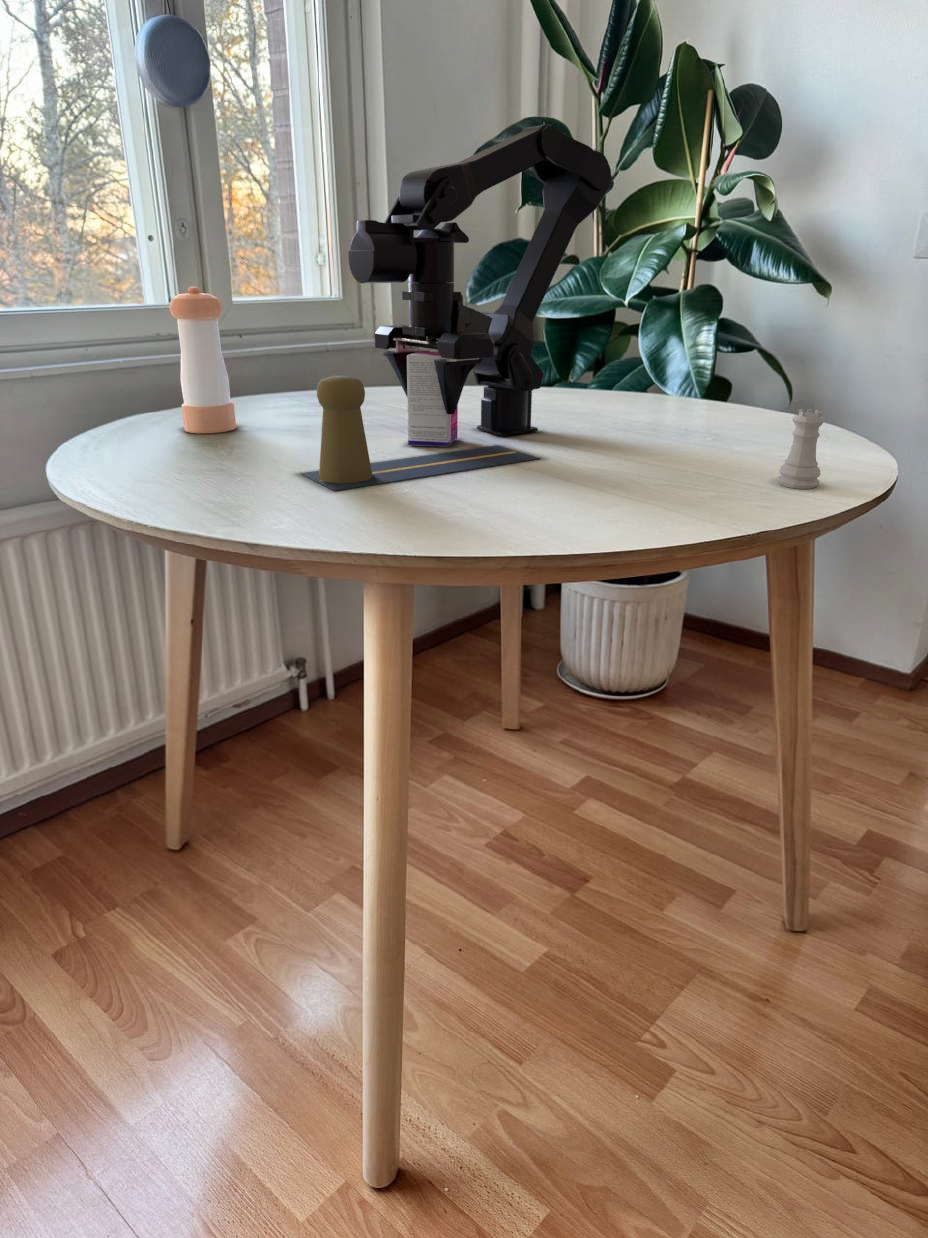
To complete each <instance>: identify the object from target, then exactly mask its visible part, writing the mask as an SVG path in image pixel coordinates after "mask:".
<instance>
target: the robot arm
mask: <svg viewBox="0 0 928 1238" xmlns="http://www.w3.org/2000/svg"><path fill="white" fill-rule="evenodd" d="M528 169H531V171H532V173H533V174H534V176H535V178H536V179H537V180H538V181H540V182H541V183H542V184H544V185H543V188H542V199H543V200H542V203H543V212H542V214H541V217H540V219H539V221H538V223H537V226H536V227H535V229H534V232H533V234H532V237H531V239H530V241H529V243H528V245H527V247H526V249H525V252H524V254H523V256H522V258H521V260H520V262H519V265H518V267H517V270H516V272H515V274H514V276H513V278H512V280H511V283H510V285H509V287H508V289H507V291H506V293H505V295H504V298H503V300H502V301H501V304H500V306H499V307H498V308H497V309H496V310H495V311H494V312H482V311H479V310H477V309H475V308H471V307H468V306H466V305H464V296H463V294H462V291H456V290H455V244H467V243H469V242H470V238H469V236H468V235H467V234H466V233H465V232H464V231H463V230H462V229H461V228H460V227H459V224H458V223H457V222H456V221H453V220H455V219H456V218H457V217H459V216H460V215H461V214H462V213H464V212H465V211H467V210H468V209H469V208H470V207H471V206H472V205H473V203H474V201H475V200H476V198H477V197H478V196H480V195H481V194H482V193H483V192H485V191H486V190H488V189H491V188H493V187H495V186H497V185H499V184H501V183H503V182H505V181H507V180H508V179H511V178H513V177H514V176H517V175H518V174H520V173H522V172H524V171H527V170H528ZM612 178H613V176H612V170H611V166H610V163H609V160H608V159H607V158H606V156H605V154H604V153H603V152H601V151H597V150H594V149H593V148H592V147H591V146H589V145H588V144H585V143H583V142H581V141H578V140H576V139H575V138H572V137H570V136H567V135H565V133H563V132H562V131H561V130H559V129H558V128H557V127H555V126H553V125H551V124H548V123H547V124H541V125H535V126H528V127H525V128H524V129H522V131H521V132H519V133H517V134H515V135H513V136H510V137H509V138H507V139H505V140H503V141H500V142H498V143H496V144H494V145H491V146H489V147H488V148H486V149H484V150H481V151H479V152H477V153H475V154H472V155H471V156H469V157H467V158H464V159H462V160H460V161H458V162H454V163H450V164H445V165H439V166H434V167H428V168H424V169H419V170H413V171H410V172H408V173H407V174H405V175H404V176H403V177H402V179H401V181H400V187H399V192H398V193H399V195H398V196H397V198H396V200H395V202H394V203H393V205H392V207H391V209H390V211H389V212H388V215H387V216H386V218H385V220H384V221H383V222H381V221H378V220H373V219H362V220H361V219H360V220H359V219H358V220H357V221H356V232H355V233H354V235H353V236H352V239H351V242H350V246H349V250H348V252H347V258H348V266H349V269H350V273H351V276H352V277H353V279H354V280H355V281H356V282H357V283H359V284H403V283H405V282H406V281H408V290H402V291H401V301H408V319H409V320H408V324H394V325H392V324H391V325H380V326H379V327H378V328H377V330H376V331H375V333H374V348H375V349H380V350H384V351H382V355H383V356H384V357H386V359H387V361H388V363H389V364H390V366H391V368H392V370H393V372H394V373H395V375H396V377H397V379H398V381H399V384H400V385H401V388H402V390H403V392H404V394H405V396H406V398H407V399H408V395H407V355H410V354H412V353H415V352H418V351H423V352H431V351H430V350H437V352H439V354H440V356H441V358H446V359H438V360H434V363H435V367H436V372H437V376H438V381H439V385H440V390H441V394H442V399H443V403H444V407H445V410H446V413H447V414H454V413H455V411H456V408H457V405H458V404H459V402H460V399H461V395H462V393H463V390H464V386H465V383H466V382H467V379H468V377H469V375H470V373H471V372H473V376H474V379H475V383H476V385H478V386H483V397H481V400H480V409H481V410H480V424H479V425H476V430H479V431H483V432H485V433H486V432H487V433H489V434H493V435H495V436H501V437H505V436H506V437H507V436H512V435H519V434H520V435H521V434H527V433H536V432H538V430H539V429H538V427H536V426H532V402H533V400H532V399H533V391H534V390H540V389H541V386H542V382H543V379H544V375H545V374H544V372H543V370H542V369H541V367H540V366H539V364H537V362H536V361H535V359H534V358H533V357H532V356H531V354H532V352H533V349H534V345H535V336H534V321H535V318H536V316H537V313H538V312H539V309H540V307H541V306H542V303H543V301H544V299H545V296H546V295H547V292H548V289H549V288H550V285H551V283H552V281H553V279H554V277H555V275H556V273H557V270H558V268H559V266H560V264H561V262H562V260H563V257H564V255H565V253H566V251H567V248H568V246H569V244H570V242H571V240H572V238H573V236H574V233H575V232H576V229H577V227H578V226H579V225H580V224H581V223H582V222H584V221H585V220H586V219H587V218H588V217H589V216H590V215H592V213H593V212H594V211H596V210H597V209H598V207H599V206H600V204H601V202H602V201H603V199H604V198H605V196H606V195H607V193H608V191H609V189H610V186H611V184H612ZM451 221H453V222H451ZM441 223H444V224H443V226H442V227H441V228H436V227H437V226H439V225H440V224H441ZM414 231H420V232H419V233H418V234H417V235H416V236H415V233H414ZM414 236H415V237H414ZM420 348H423V349H420ZM426 349H430V350H426ZM458 406H459V405H458Z"/></svg>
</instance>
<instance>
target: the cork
mask: <svg viewBox="0 0 928 1238" xmlns="http://www.w3.org/2000/svg"><path fill="white" fill-rule="evenodd" d="M316 397H317V401H318V403H319V405H320V406H321V407H322V421H321V437H320V451H319V452H320V453H319V469H318V471H319V479H320V480H322V481H325V482H331V483H355V482H361V481H365V480H368V479H370V478H371V477H372V470H371V465H370V463H371V460H370V455H369V448H368V443H367V436H366V432H365V426H364V419H363V415H362V409H361V407H362V405H363V404H364V402H365V399H366V389H365V387H364V384H363V381H361V379H359V378H358V377H354V376H350V375H341V374H340V375H331V376H328V377H324V378H322V379H320V381H319V382H318V384H317V386H316Z"/></svg>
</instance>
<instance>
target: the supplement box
mask: <svg viewBox="0 0 928 1238" xmlns="http://www.w3.org/2000/svg"><path fill="white" fill-rule="evenodd" d="M438 359H446V358H441V356H440V354H439V352H438V351H430V352H423V351H418V352H415V353H412V354H410V355H407V395H408V398H407V445H408V446H416V447H417V446H420V447H421V446H423V447H449V446H450V445H451V444H452V443H454V441H455V440H457V439H458V422H459V421H458V420H459V419H458V415H459V414H458V412H459V411H458V409H459V408H458V407H459V405H457V408H456V411H455V413H454V414H447V413H446V410H445V407H444V403H443V399H442V394H441V390H440V385H439V381H438V376H437V372H436V367H435V363H434V360H438Z"/></svg>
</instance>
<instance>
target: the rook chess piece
mask: <svg viewBox="0 0 928 1238" xmlns="http://www.w3.org/2000/svg"><path fill="white" fill-rule="evenodd" d="M805 411H806V412H805ZM792 422H793V423H794V426H795V429H794V431H792V433H791V434H792V436H793V440H792V444H791V447H790V451H789V454H788V456H787V458H786V459H785V460H784V463H783V464H782V465H780V468H779V470H778V472H779V474H780V475H779V476H777V477H776V478H777V481H778V483H779V485H781V486H782V487H786V488H791V489H798V490H811V489H815V488H816V487H817V486H818V485H819V484H820V480H819V479H818V478H819V477H820V476H821V469H820V467H819V466H818V465H819V462H817V445H818V444H817V443H818V438H819V437H820V436H821V434H820V433H819V429H820V428H821V426H822V425H823V424H824V423H825V422H826V421H825V419H824V417H823V411H822V410H820V409H815V410H814V412H813V408H807V409H805V408H799V409H797V411H796V414H795V415H794V416H793V417H792Z"/></svg>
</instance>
